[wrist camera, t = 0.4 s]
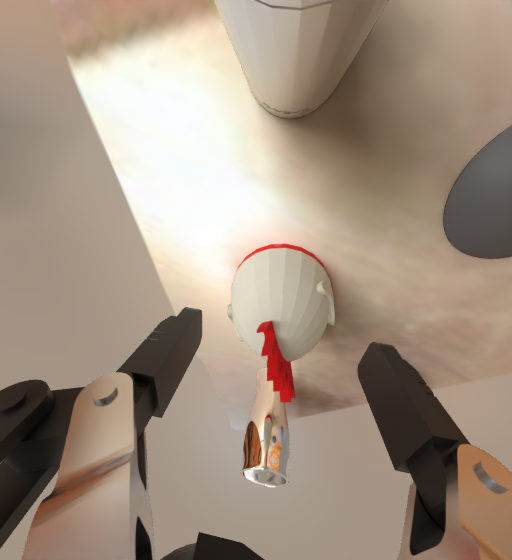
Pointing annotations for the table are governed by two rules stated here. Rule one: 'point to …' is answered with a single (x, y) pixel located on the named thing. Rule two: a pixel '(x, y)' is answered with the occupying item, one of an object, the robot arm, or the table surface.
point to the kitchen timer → (281, 308)
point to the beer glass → (266, 437)
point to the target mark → (483, 202)
